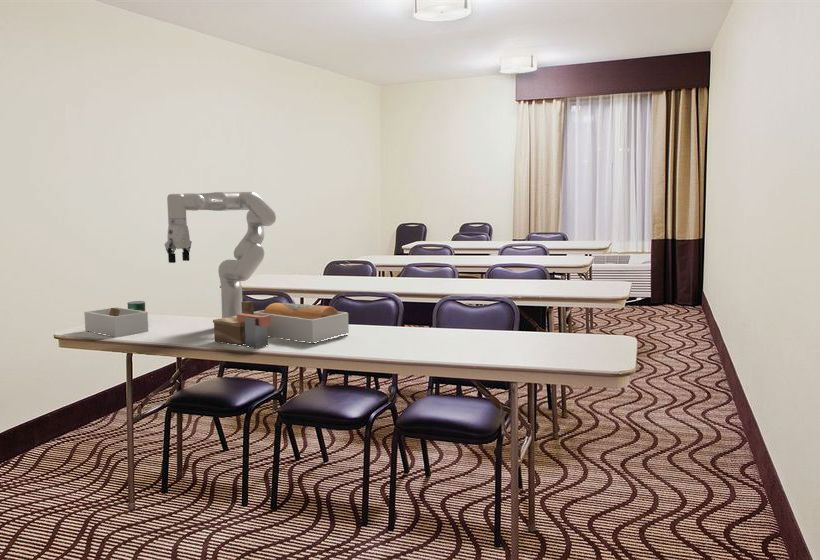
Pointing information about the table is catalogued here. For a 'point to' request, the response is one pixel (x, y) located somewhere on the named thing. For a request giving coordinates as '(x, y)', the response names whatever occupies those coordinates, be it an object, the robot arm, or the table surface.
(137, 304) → the canned tomato
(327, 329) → the frame
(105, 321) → the frame
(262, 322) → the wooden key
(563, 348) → the table surface
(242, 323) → the lid
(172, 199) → the robot arm
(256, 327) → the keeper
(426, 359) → the table surface
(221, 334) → the brown open box
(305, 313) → the orange brown curved block
